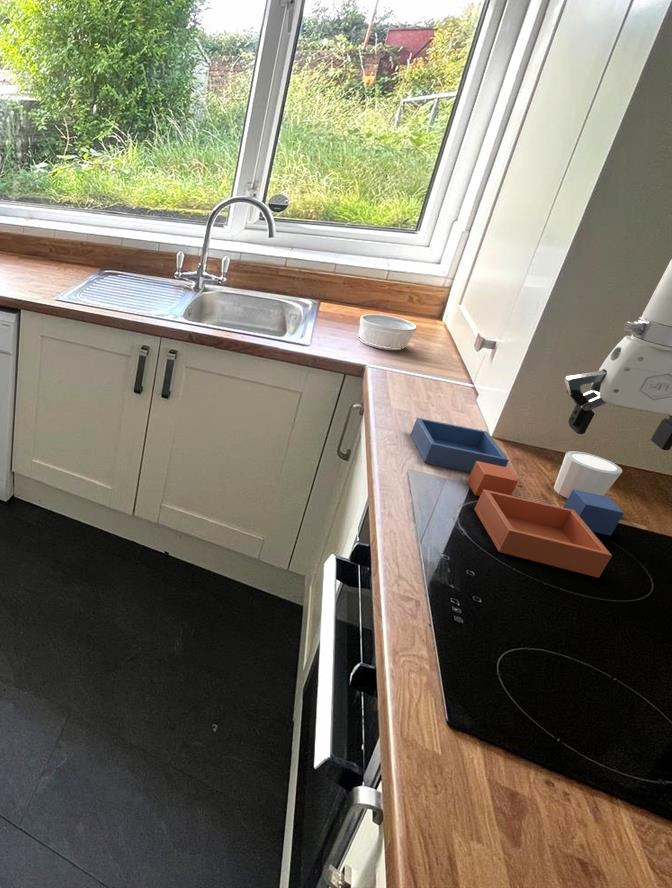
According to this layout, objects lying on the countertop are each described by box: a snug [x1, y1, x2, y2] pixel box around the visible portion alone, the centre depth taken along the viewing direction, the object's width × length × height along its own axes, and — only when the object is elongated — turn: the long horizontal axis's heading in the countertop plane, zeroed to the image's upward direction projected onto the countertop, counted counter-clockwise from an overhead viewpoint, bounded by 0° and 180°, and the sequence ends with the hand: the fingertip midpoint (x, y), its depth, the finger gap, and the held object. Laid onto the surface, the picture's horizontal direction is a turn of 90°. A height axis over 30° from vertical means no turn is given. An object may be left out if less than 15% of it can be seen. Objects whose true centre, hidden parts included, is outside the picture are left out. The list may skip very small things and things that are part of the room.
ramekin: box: [358, 313, 417, 351], centre depth 167 cm, size 13×13×7 cm
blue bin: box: [409, 417, 510, 474], centre depth 112 cm, size 11×11×4 cm
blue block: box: [562, 489, 625, 537], centre depth 94 cm, size 4×4×4 cm
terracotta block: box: [466, 461, 519, 497], centre depth 101 cm, size 4×4×4 cm
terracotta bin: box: [473, 490, 613, 579], centre depth 89 cm, size 11×11×4 cm
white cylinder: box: [553, 450, 624, 500], centre depth 101 cm, size 7×7×7 cm
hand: (616, 437), depth 90 cm, fingers open, 9 cm apart
